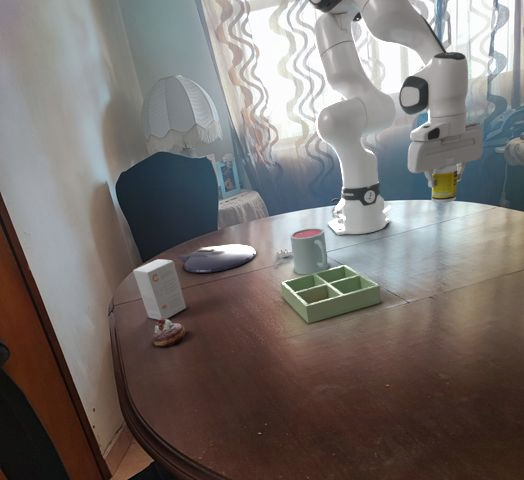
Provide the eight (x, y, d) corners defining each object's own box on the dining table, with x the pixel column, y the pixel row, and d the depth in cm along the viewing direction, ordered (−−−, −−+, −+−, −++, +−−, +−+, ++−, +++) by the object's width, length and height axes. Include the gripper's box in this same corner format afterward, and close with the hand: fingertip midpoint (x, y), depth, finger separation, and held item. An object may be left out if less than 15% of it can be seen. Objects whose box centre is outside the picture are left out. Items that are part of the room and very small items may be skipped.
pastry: (156, 334, 109) (150, 315, 106) (187, 328, 108) (182, 309, 106) (151, 350, 102) (144, 330, 99) (184, 344, 101) (178, 323, 99)
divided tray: (283, 297, 115) (280, 282, 113) (346, 279, 118) (345, 264, 116) (308, 323, 100) (306, 306, 98) (381, 302, 103) (380, 285, 101)
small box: (171, 305, 123) (157, 258, 117) (186, 308, 120) (173, 260, 113) (147, 317, 118) (132, 269, 112) (162, 321, 114) (147, 272, 108)
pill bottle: (457, 202, 123) (460, 157, 117) (433, 204, 124) (434, 161, 119) (454, 196, 128) (456, 153, 122) (430, 198, 129) (431, 157, 124)
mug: (289, 269, 132) (284, 234, 127) (317, 260, 135) (313, 226, 130) (312, 281, 121) (308, 244, 116) (343, 271, 123) (339, 234, 119)
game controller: (294, 253, 144) (293, 244, 143) (294, 265, 134) (293, 257, 133) (276, 255, 145) (275, 247, 144) (275, 268, 135) (274, 259, 134)
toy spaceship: (162, 267, 155) (159, 258, 153) (214, 244, 169) (212, 236, 167) (217, 277, 136) (215, 267, 135) (271, 250, 150) (269, 241, 149)
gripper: (474, 119, 121) (470, 174, 128) (404, 134, 118) (404, 190, 125) (490, 119, 116) (486, 177, 123) (418, 135, 112) (417, 193, 119)
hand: (444, 183), depth 124 cm, fingers closed on pill bottle, 6 cm apart
